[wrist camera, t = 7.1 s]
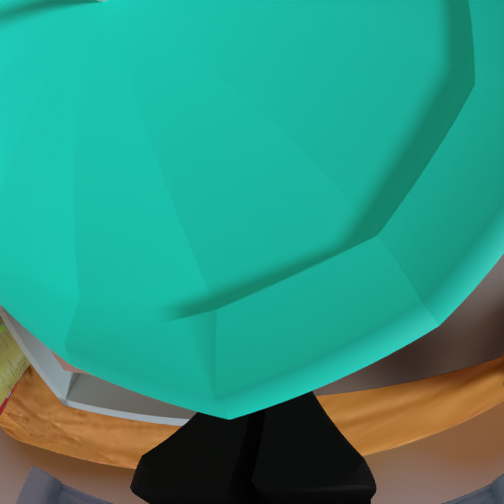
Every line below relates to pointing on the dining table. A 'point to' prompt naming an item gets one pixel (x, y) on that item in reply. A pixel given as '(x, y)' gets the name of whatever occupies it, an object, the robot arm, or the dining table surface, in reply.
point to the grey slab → (441, 343)
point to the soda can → (8, 397)
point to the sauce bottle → (10, 361)
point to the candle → (246, 185)
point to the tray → (92, 385)
